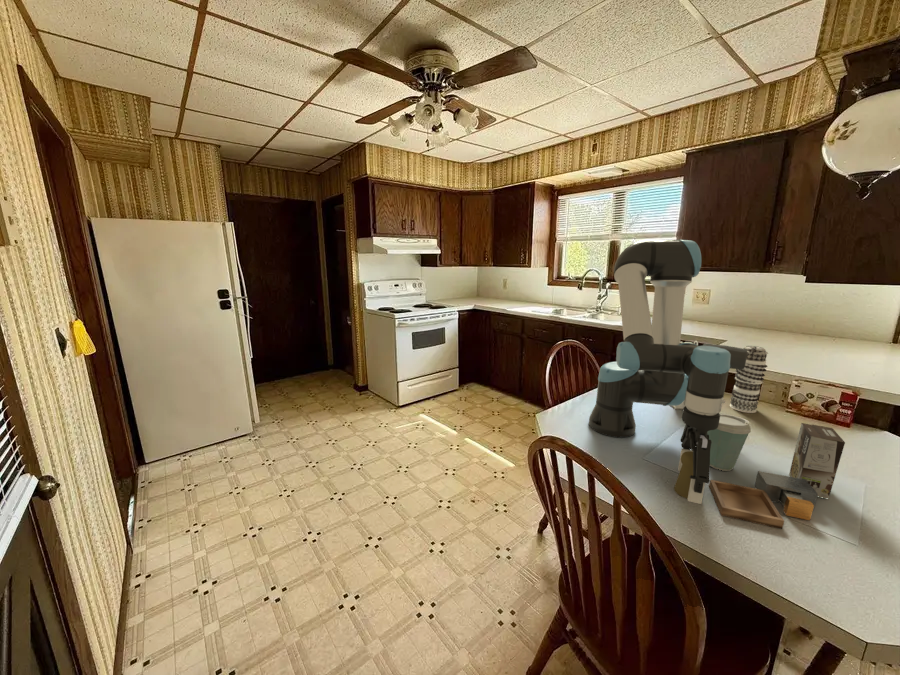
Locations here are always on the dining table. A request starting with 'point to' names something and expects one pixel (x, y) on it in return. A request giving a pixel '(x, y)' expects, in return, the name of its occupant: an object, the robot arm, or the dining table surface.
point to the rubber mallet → (734, 355)
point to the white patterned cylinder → (749, 380)
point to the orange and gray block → (795, 505)
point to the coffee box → (817, 457)
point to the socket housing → (784, 486)
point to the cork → (684, 475)
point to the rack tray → (745, 504)
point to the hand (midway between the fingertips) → (688, 485)
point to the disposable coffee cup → (727, 441)
